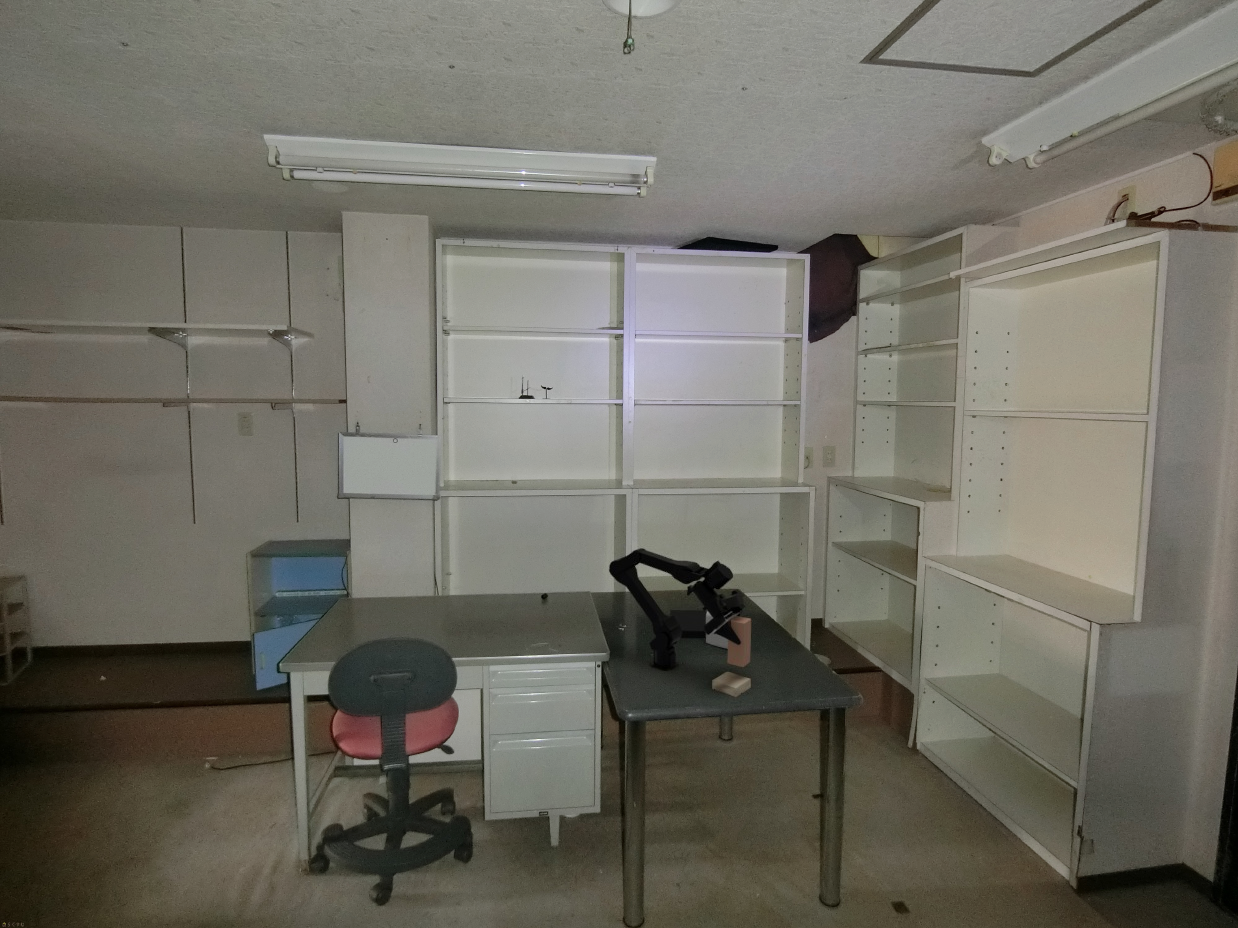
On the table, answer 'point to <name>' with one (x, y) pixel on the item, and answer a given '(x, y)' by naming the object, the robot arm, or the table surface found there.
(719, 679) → the slab
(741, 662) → the column
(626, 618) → the table surface
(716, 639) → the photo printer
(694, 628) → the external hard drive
